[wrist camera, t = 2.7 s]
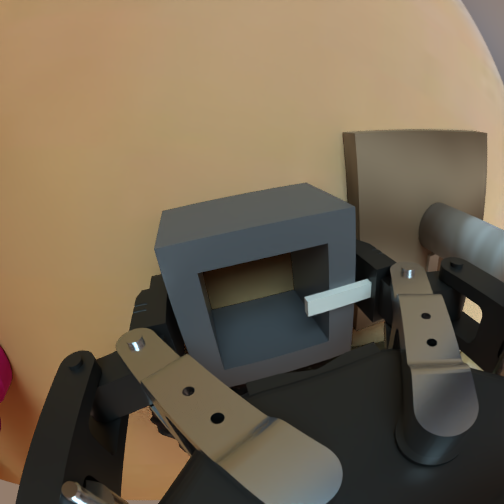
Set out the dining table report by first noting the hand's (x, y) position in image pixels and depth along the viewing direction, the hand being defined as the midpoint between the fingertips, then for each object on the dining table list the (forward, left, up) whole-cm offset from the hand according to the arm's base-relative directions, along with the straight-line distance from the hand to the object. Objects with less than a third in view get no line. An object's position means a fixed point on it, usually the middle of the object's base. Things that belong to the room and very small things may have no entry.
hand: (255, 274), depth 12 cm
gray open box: (0, 0, -1) cm, 1 cm away
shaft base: (0, +10, -1) cm, 10 cm away
